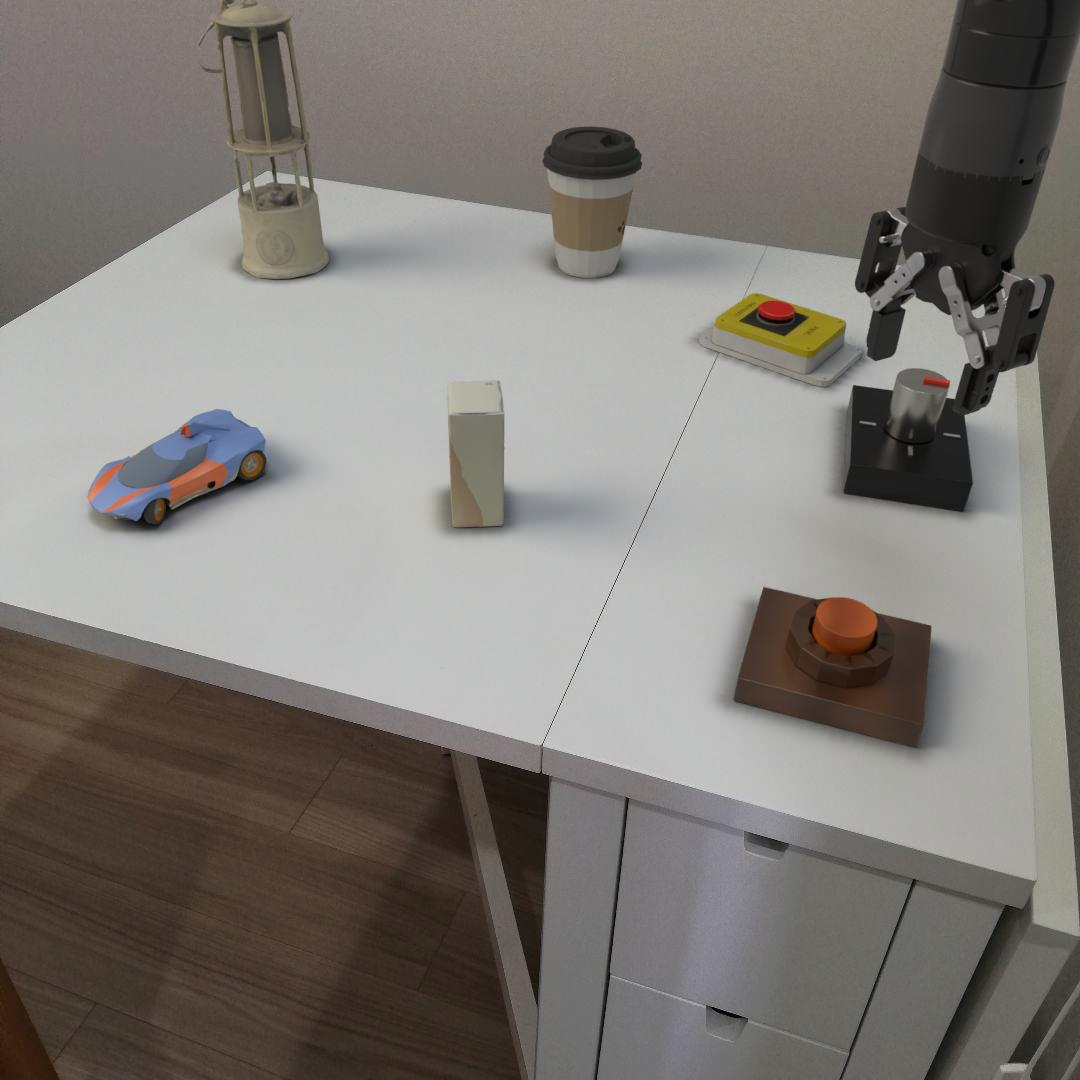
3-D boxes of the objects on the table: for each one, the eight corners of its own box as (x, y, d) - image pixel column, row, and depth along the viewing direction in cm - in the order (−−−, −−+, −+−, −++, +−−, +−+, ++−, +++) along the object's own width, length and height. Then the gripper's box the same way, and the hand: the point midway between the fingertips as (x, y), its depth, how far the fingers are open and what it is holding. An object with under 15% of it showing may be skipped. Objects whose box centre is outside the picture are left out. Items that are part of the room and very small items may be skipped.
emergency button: (743, 276, 115) (872, 316, 108) (738, 313, 118) (863, 354, 111) (700, 305, 110) (833, 349, 103) (695, 343, 112) (825, 389, 105)
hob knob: (882, 438, 93) (896, 385, 89) (885, 413, 96) (899, 361, 93) (934, 447, 92) (950, 394, 88) (935, 422, 95) (951, 369, 92)
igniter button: (874, 624, 73) (880, 605, 72) (869, 662, 70) (874, 643, 69) (816, 610, 74) (820, 591, 73) (808, 647, 71) (812, 628, 70)
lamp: (284, 287, 121) (244, -1, 102) (208, 258, 127) (157, -19, 108) (347, 258, 128) (320, -18, 109) (272, 232, 133) (234, -34, 115)
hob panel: (963, 511, 89) (973, 481, 87) (843, 493, 91) (850, 462, 89) (954, 427, 100) (963, 398, 98) (846, 411, 102) (853, 383, 100)
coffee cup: (637, 287, 123) (647, 157, 114) (539, 284, 123) (542, 154, 114) (631, 247, 132) (640, 124, 123) (540, 245, 132) (543, 122, 123)
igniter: (924, 647, 76) (938, 606, 74) (915, 748, 69) (930, 705, 66) (758, 608, 79) (767, 567, 77) (733, 700, 72) (741, 658, 69)
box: (450, 492, 90) (446, 378, 83) (501, 490, 90) (500, 376, 84) (452, 530, 86) (447, 413, 79) (505, 528, 86) (505, 411, 79)
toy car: (73, 504, 88) (56, 450, 84) (226, 434, 97) (216, 382, 93) (126, 546, 83) (110, 490, 80) (280, 468, 92) (272, 416, 89)
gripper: (857, 127, 68) (815, 352, 78) (1031, 197, 59) (957, 445, 69) (943, 112, 71) (891, 331, 81) (1123, 177, 61) (1039, 417, 71)
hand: (921, 383), depth 75 cm, fingers open, 8 cm apart
